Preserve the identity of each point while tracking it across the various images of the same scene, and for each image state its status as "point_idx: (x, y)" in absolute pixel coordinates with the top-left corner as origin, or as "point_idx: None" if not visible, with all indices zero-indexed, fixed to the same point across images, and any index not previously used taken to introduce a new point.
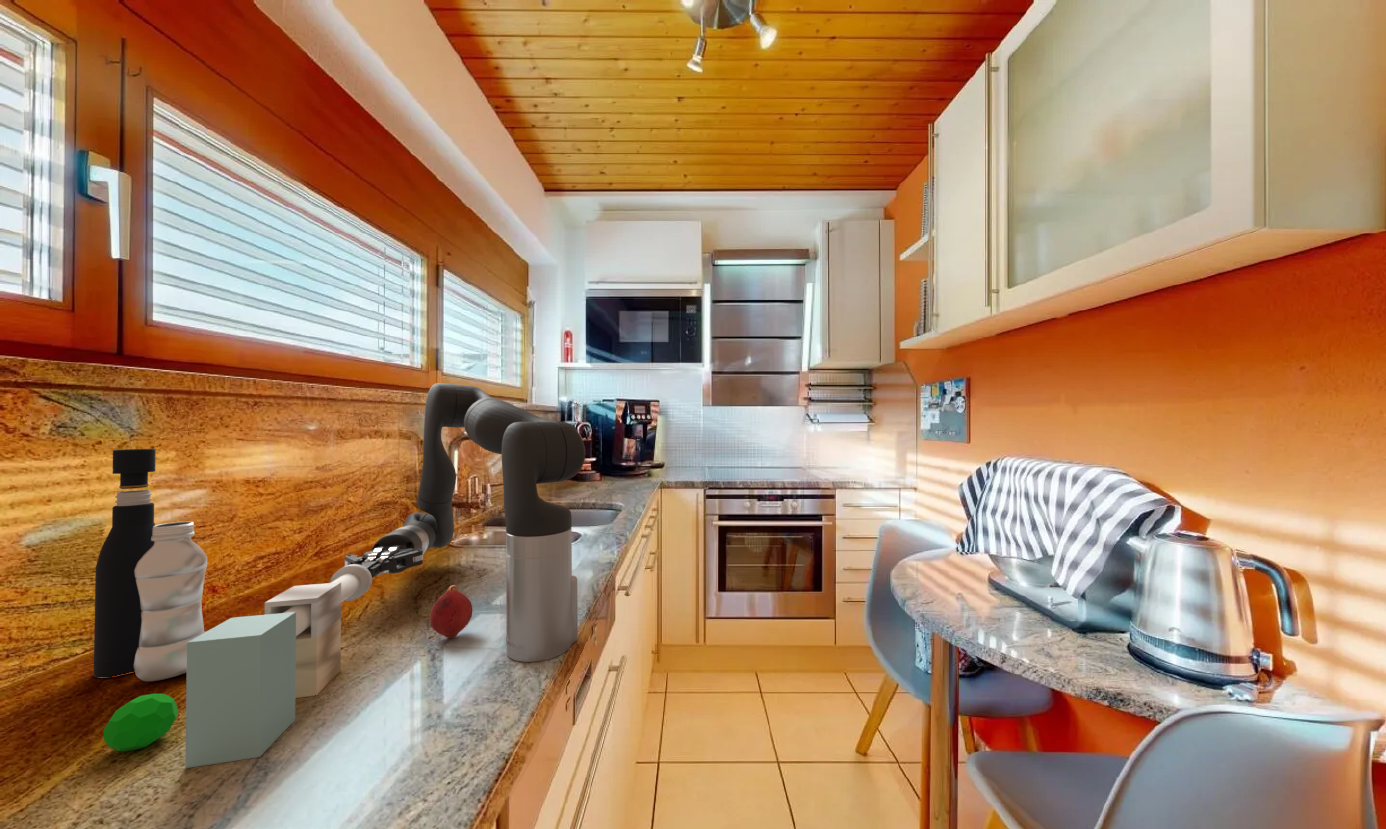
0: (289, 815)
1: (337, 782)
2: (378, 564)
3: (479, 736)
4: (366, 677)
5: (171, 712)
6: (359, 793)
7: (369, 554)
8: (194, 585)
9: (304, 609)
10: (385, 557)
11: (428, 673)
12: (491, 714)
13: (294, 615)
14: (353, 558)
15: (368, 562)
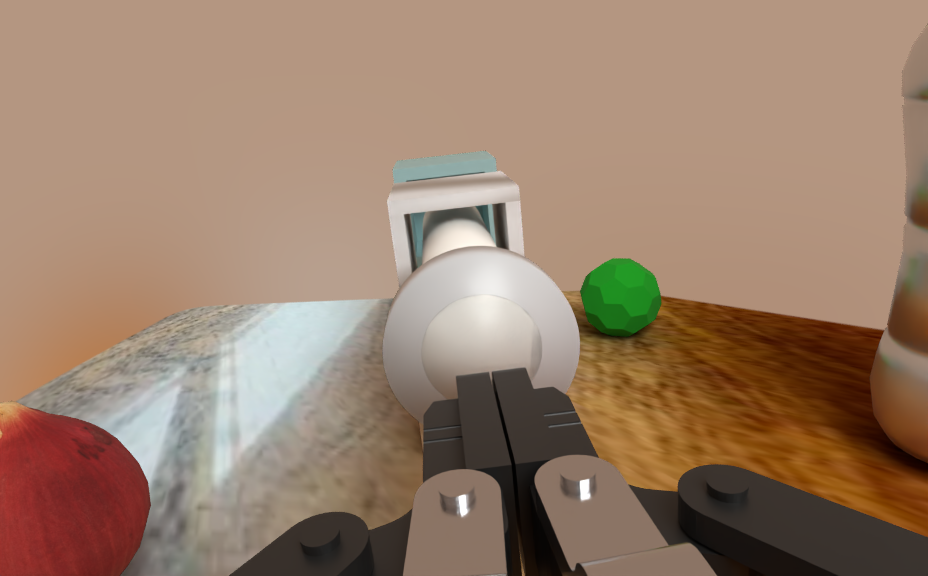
0: (339, 301)
1: (308, 316)
2: (438, 472)
3: (148, 350)
4: (342, 435)
5: (582, 293)
6: (281, 312)
7: (688, 549)
8: (914, 157)
9: (431, 212)
10: (423, 555)
11: (197, 443)
12: (116, 372)
13: (393, 174)
14: (897, 548)
15: (533, 443)
